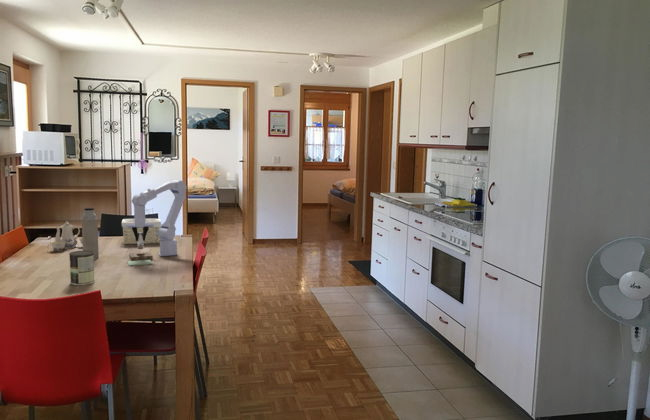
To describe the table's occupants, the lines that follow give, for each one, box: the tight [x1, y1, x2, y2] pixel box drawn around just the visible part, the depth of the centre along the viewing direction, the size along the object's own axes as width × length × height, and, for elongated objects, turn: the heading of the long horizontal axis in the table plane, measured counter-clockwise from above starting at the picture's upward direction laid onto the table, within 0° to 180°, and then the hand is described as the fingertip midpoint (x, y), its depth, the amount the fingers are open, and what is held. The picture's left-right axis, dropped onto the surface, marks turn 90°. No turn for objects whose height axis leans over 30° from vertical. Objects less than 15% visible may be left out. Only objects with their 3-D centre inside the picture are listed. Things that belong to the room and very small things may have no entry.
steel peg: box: [136, 232, 145, 250], centre depth 295 cm, size 3×3×9 cm
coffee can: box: [68, 250, 95, 286], centre depth 245 cm, size 10×10×14 cm
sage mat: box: [126, 260, 153, 267], centre depth 287 cm, size 12×9×1 cm
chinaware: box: [47, 220, 83, 252], centre depth 322 cm, size 28×17×17 cm, turn 147°
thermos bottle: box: [81, 207, 100, 260], centre depth 295 cm, size 8×8×28 cm
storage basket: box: [121, 217, 162, 245], centre depth 344 cm, size 24×16×15 cm
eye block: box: [128, 251, 154, 261], centre depth 297 cm, size 11×11×2 cm
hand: (140, 240), depth 295 cm, fingers closed on steel peg, 3 cm apart
